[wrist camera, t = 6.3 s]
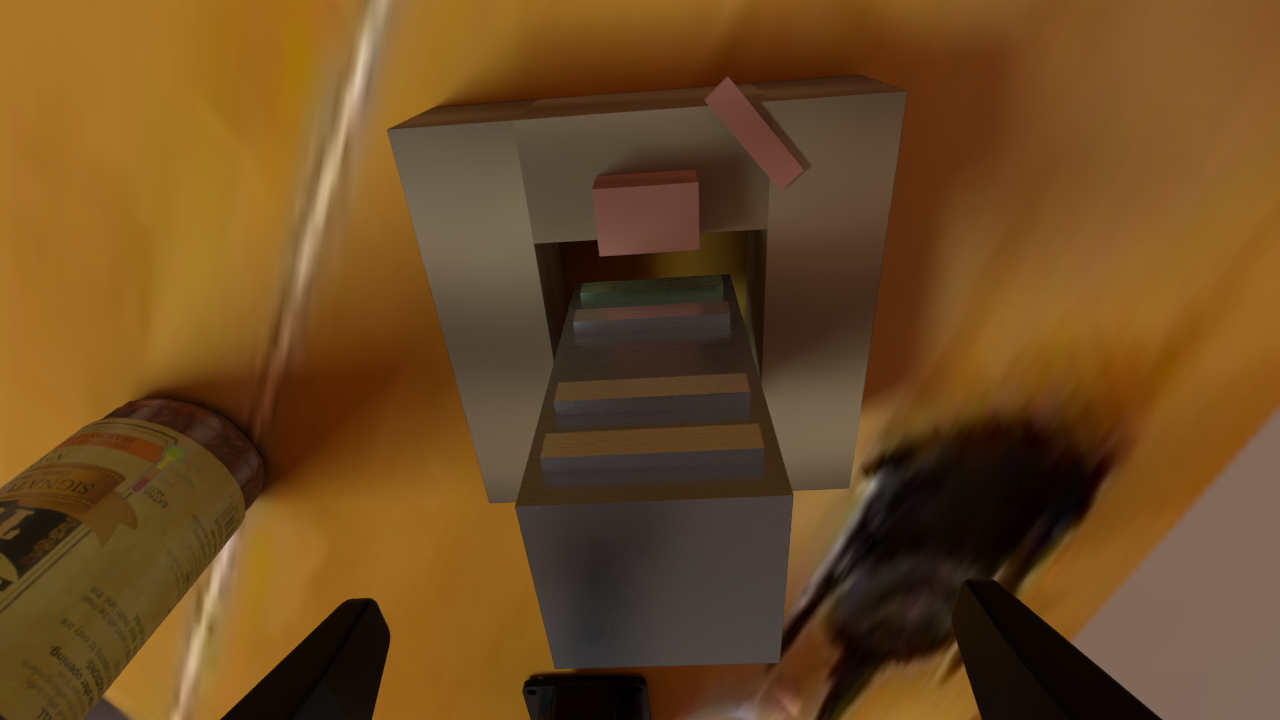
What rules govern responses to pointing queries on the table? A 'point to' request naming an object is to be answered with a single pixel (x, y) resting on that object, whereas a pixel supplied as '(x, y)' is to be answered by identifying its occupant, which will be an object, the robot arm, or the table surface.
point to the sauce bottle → (111, 546)
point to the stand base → (660, 239)
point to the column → (657, 484)
